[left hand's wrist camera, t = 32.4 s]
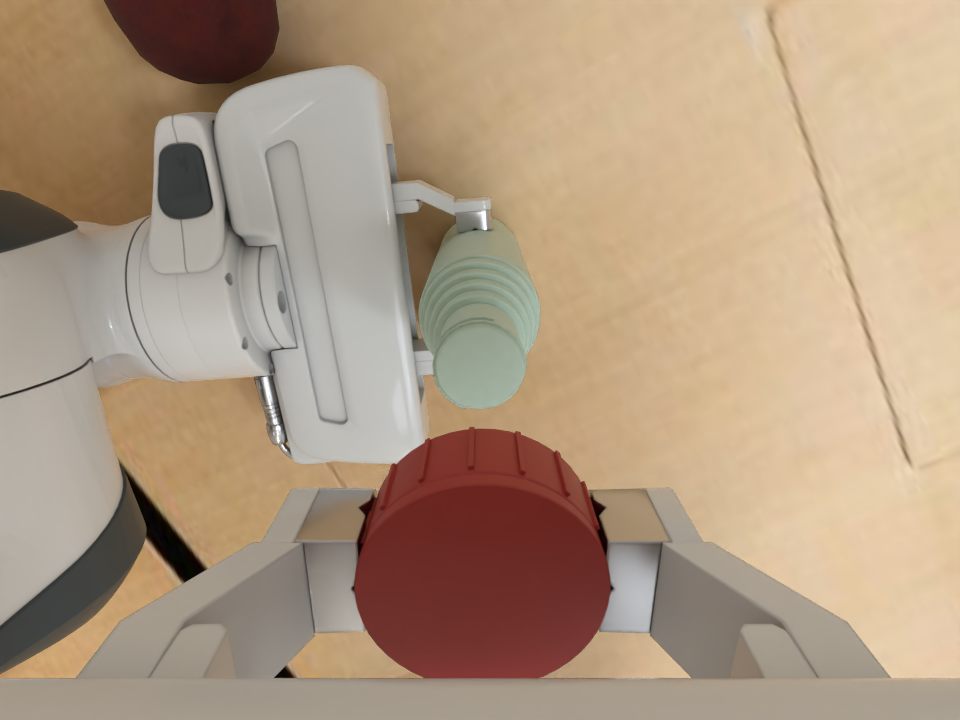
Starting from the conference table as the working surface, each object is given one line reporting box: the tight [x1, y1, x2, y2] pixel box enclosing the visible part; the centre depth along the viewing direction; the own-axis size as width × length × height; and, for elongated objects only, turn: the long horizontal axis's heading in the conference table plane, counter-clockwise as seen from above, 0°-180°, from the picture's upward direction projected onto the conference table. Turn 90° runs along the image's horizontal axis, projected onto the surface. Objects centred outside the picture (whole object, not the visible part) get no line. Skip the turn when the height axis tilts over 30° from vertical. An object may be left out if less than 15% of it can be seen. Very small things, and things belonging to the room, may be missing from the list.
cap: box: [354, 427, 611, 678], centre depth 10 cm, size 4×4×2 cm
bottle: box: [418, 218, 541, 409], centre depth 26 cm, size 5×5×18 cm
